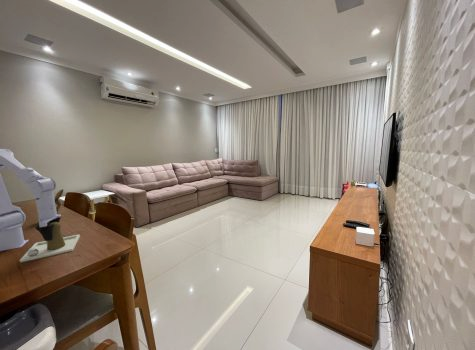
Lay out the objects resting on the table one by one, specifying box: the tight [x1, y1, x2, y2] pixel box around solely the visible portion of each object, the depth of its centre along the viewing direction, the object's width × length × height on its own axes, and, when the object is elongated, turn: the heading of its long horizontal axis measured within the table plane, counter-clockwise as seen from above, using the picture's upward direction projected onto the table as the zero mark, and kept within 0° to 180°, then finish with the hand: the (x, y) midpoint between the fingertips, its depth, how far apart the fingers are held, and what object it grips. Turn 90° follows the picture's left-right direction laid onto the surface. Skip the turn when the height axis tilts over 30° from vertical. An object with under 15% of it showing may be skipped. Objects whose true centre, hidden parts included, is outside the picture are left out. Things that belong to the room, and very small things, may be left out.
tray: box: [19, 233, 81, 263], centre depth 87 cm, size 16×16×2 cm
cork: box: [47, 221, 65, 250], centre depth 87 cm, size 6×6×11 cm
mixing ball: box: [26, 248, 39, 257], centre depth 80 cm, size 3×3×3 cm
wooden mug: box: [54, 189, 64, 215], centre depth 122 cm, size 9×14×18 cm, turn 148°
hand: (51, 236), depth 86 cm, fingers open, 7 cm apart
